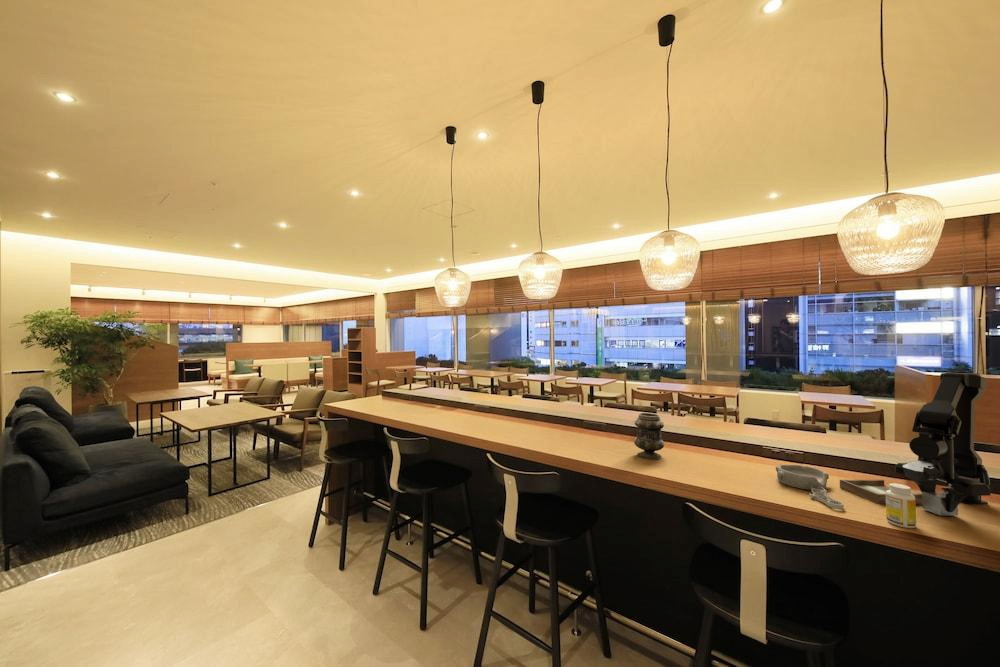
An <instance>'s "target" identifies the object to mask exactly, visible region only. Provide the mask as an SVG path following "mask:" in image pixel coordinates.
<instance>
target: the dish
mask: <svg viewBox="0 0 1000 667" xmlns="http://www.w3.org/2000/svg"><path fill="white" fill-rule="evenodd" d="M775 470H776V473H777V474H776V475H777V479H778V482H780V483H781V484H784V485H787V486H790V487H792V488H797V489H802V490H807V491H809V490H810V491H811V487H812V488H815V489H817V487H822V488H824V489H825V488H826V487H827V483H828V480H829V478H830V477H829V473H828V472H826V471H824V470H822V469H819V468H816V467H812V466H808V465H805V466H804V465H801V464H800V465H799V464H779V466H778V465H777V466H775Z"/></svg>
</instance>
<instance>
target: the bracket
mask: <svg viewBox="0 0 1000 667" xmlns="http://www.w3.org/2000/svg"><path fill="white" fill-rule="evenodd" d="M810 491H811V493H810V492H809V494H808V495H809V497H810V498H811V499H813V500H815V501H817V502H821V503H823V504H825V505H827V506H828V507H830V508H832V509H835V510H844V509H845V508H844V506H845V505H844V503H843V502H842V501H839V500H836V499H834V498H831V497H830V496H829V495H828V494H829V493H828V490H827V489H825V488H822V487H817V489H815V488H812V487H811V490H810Z"/></svg>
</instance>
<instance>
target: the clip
mask: <svg viewBox="0 0 1000 667" xmlns="http://www.w3.org/2000/svg"><path fill="white" fill-rule="evenodd" d="M921 494H922V504H921V508H922V510H925V511H928V512H930V513H933V514H935V515H938V516H942V517H945V516H946V517H948V516H956V517H957V516H959V507H958V506H959V505H958V506H957V507H956V508H955V510H954V511H953V512H948V511H947V507H946V493H945V492H942V491H939V490H935V491H922V492H921Z"/></svg>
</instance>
